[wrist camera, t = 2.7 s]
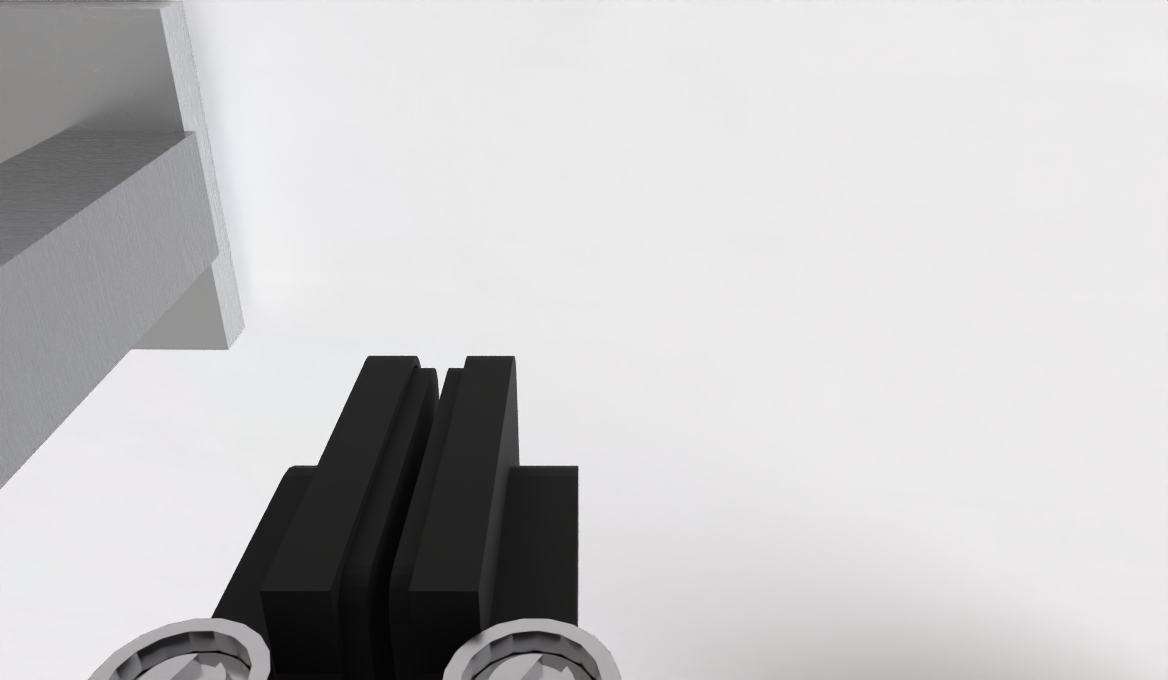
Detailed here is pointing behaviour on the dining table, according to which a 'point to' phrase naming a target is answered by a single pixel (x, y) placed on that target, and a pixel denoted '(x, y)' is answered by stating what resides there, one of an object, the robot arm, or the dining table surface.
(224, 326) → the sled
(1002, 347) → the dining table surface
